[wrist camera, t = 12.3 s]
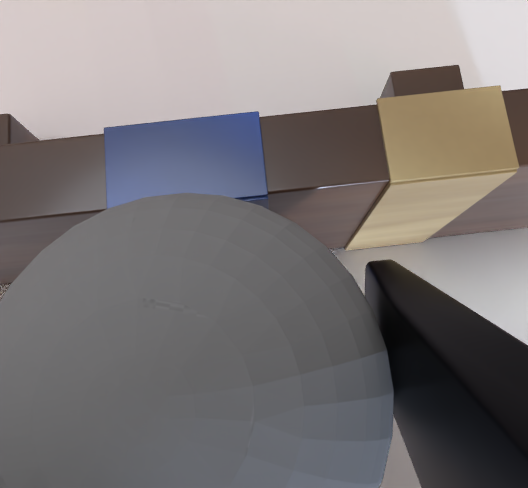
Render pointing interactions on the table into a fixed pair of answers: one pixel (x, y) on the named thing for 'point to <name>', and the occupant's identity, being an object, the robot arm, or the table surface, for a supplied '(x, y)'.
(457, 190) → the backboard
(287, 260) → the light bulb
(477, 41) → the table surface
